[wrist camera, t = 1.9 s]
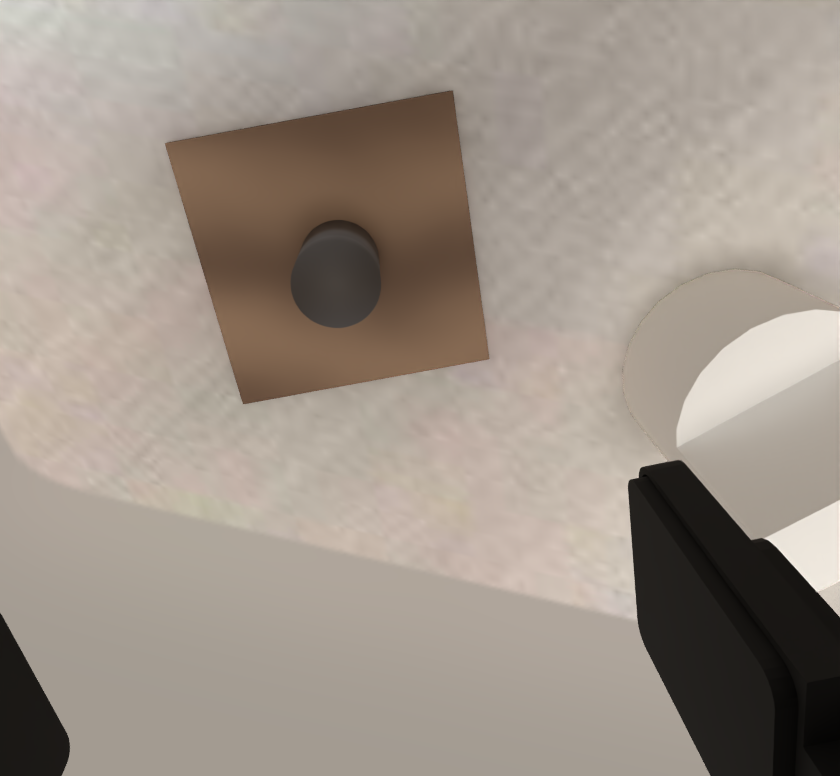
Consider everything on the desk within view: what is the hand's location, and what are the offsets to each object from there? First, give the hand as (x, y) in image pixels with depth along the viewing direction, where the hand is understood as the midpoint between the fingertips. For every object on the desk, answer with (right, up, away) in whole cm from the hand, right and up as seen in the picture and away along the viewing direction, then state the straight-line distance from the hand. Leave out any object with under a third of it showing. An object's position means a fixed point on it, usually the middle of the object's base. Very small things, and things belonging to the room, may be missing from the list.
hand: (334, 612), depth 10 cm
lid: (-2, +9, +19) cm, 21 cm away
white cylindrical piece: (+15, +4, +22) cm, 27 cm away
